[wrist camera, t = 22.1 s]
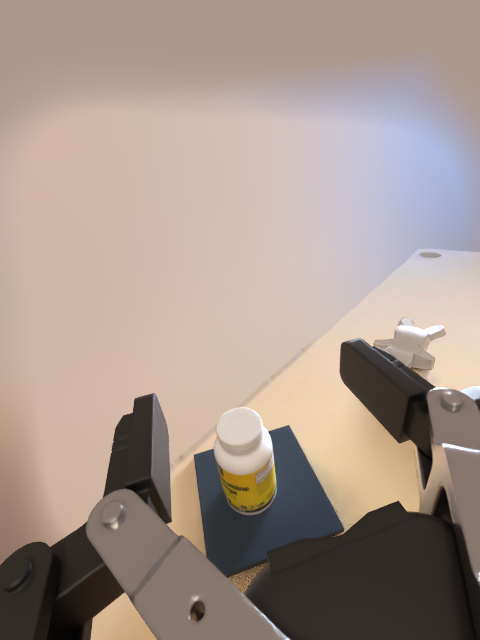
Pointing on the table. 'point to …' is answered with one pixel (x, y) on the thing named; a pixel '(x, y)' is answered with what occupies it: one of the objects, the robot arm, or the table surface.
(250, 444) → the pill bottle
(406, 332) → the bunny figurine
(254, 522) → the mat
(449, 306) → the table surface
